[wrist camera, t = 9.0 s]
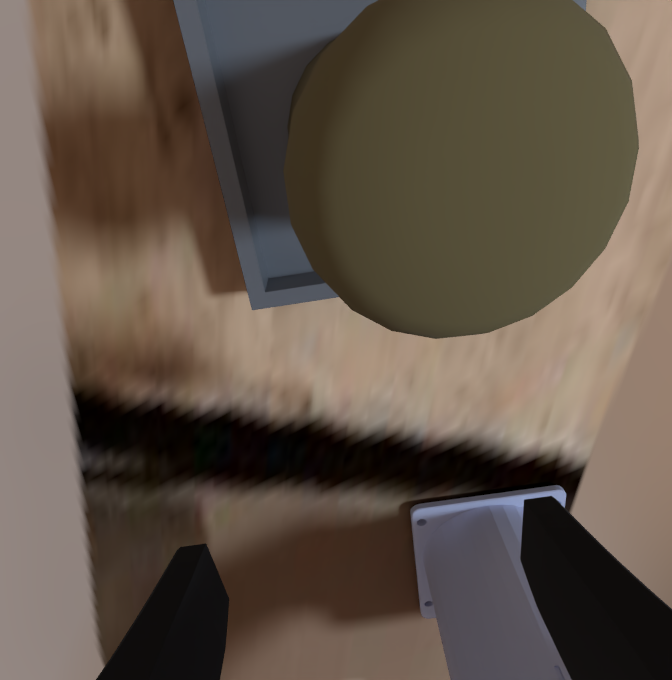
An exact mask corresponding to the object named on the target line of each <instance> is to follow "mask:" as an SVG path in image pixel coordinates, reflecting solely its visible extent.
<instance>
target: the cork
mask: <svg viewBox="0 0 672 680" xmlns="http://www.w3.org/2000/svg"><path fill="white" fill-rule="evenodd" d="M287 128H288V136H289V138H288V144H287V150H286V156H285V163H284V169H283V173H284V180H285V187H286V194H287V200H288V207H289V214H290V221H291V226H292V228H293V230H294V232H295V234H296V236H297V238H298V240H299V242H300V244H301V246H302V248H303V250H304V252H305V254H306V257H307V259H308V261H309V263H310V265H311V267H312V269H313V270H314V271H315V272H316V273H317V274H318V275H319V276H320V277H321V278H322V279H323V281H324V282H325V283H326V284H327V285H328V286H329V287H330V288H331V289H332V290H333V291H334V292H335V293H336V294H337V295H338V296H339V297H340V298H341V299H342V300H343V301H344V302H345V303H346V304H347V305H348V306H349V307H350V308H351V309H352V310H353V311H355V312H357V313H359V314H361V315H363V316H365V317H366V318H368V319H370V320H372V321H374V322H376V323H378V324H380V325H382V326H384V327H385V328H387V329H389V330H391V331H396V332H401V333H407V334H413V335H418V336H424V337H429V338H435V339H438V338H447V337H457V336H466V335H476V334H483V333H488V332H491V331H494V330H496V329H499V328H502V327H504V326H507V325H509V324H512V323H515V322H517V321H520V320H522V319H525V318H527V317H530V316H532V315H534V314H535V313H537V312H538V311H539V310H541V309H542V308H544V307H545V306H546V305H548V304H549V303H551V302H552V301H553V300H555V299H556V298H558V297H559V296H561V295H562V294H563V293H565V292H566V291H568V290H569V289H570V288H572V287H573V285H574V284H575V283H576V282H577V281H578V280H579V278H580V277H581V276H582V275H583V274H584V273H585V271H586V270H587V269H588V268H589V267H590V266H591V264H592V263H593V262H594V261H595V260H596V259H597V257H598V256H599V255H600V254H601V253H602V252H603V251H604V249H605V248H606V246H607V244H608V242H609V240H610V238H611V236H612V234H613V231H614V229H615V227H616V225H617V223H618V221H619V219H620V217H621V215H622V213H623V211H624V209H625V207H626V205H627V203H628V201H629V196H630V191H631V185H632V180H633V175H634V170H635V165H636V159H637V154H638V149H639V141H638V131H637V122H636V113H635V104H634V96H633V87H632V80H631V78H630V76H629V74H628V72H627V70H626V68H625V66H624V64H623V62H622V60H621V58H620V56H619V54H618V52H617V50H616V48H615V46H614V44H613V42H612V40H611V38H610V36H609V34H608V32H607V30H606V28H605V27H603V26H602V25H601V24H600V23H599V22H598V21H596V20H595V19H594V18H593V17H592V16H591V15H589V14H588V13H587V12H586V11H585V10H584V9H582V8H581V7H580V6H579V5H578V4H577V3H576V2H574V1H573V0H378V1H376V2H374V3H372V4H370V5H368V6H367V7H366V8H365V9H364V10H363V11H362V12H361V13H360V14H359V15H358V16H357V17H356V18H355V19H354V20H353V21H352V22H351V23H350V24H349V25H348V26H347V27H346V29H345V30H344V31H343V32H342V33H341V34H340V35H339V36H338V37H337V38H336V39H334V40H332V41H330V42H329V43H328V44H327V45H326V46H325V47H324V48H323V49H322V50H321V51H320V52H319V53H318V54H317V55H316V56H315V57H314V58H313V59H312V60H311V62H310V63H309V64H308V65H307V66H306V68H305V70H304V72H303V74H302V76H301V78H300V80H299V82H298V84H297V86H296V89H295V91H294V93H293V95H292V100H291V107H290V113H289V119H288V126H287Z"/></svg>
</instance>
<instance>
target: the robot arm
mask: <svg viewBox="0 0 672 680" xmlns="http://www.w3.org/2000/svg"><path fill="white" fill-rule="evenodd" d="M565 500H566V493H565V491H564V489H563V488H562V487H561V486H558V485H553V486H545V487H538V488H531V489H524V490H516V491H509V492H502V493H494V494H487V495H480V496H473V497H465V498H458V499H451V500H443V501H436V502H429V503H422V504H417V505H415V506H413V507H412V508H411V510H410V515H411V525H412V534H413V544H414V554H415V564H416V574H417V584H418V593H419V603H420V611H421V615H422V616H423V617H424V618H437V623H438V627H439V631H440V636H441V640H442V644H443V649H444V653H445V657H446V662H447V666H448V670H449V674H450V679H451V680H672V609H671V608H670V607H669V606H668V605H666V604H665V603H664V602H663V601H662V600H661V599H660V598H658V597H657V596H656V595H655V594H654V593H653V592H652V591H651V590H650V589H648V588H647V587H646V586H645V585H644V584H643V583H642V582H641V581H639V579H637V578H636V577H635V576H634V575H633V574H632V573H631V572H630V571H629V570H628V569H626V568H625V567H624V566H623V565H622V564H621V563H620V562H619V561H618V560H617V559H616V558H615V557H614V556H613V555H612V554H611V553H610V552H608V551H607V550H606V549H605V548H604V547H603V546H602V545H601V544H600V543H599V542H598V541H597V540H596V539H595V538H594V537H593V536H592V535H591V534H590V533H589V532H588V531H587V530H586V529H585V528H584V527H583V526H582V525H581V524H580V523H579V522H578V521H577V520H576V519H575V518H574V517H573V516H572V515H571V514H570V513H569V512H568V511H567V510H566V509H565ZM420 519H422V520H420ZM228 607H229V597H228V595H227V593H226V590H225V588H224V585H223V583H222V581H221V578H220V576H219V573H218V571H217V569H216V566H215V564H214V561H213V559H212V557H211V554H210V552H209V549H208V547H207V545H206V544H200V545H193V546H185V547H180V548H179V549H178V550H177V551H176V553H175V555H174V556H173V558H172V560H171V562H170V563H169V565H168V567H167V568H166V570H165V572H164V573H163V575H162V577H161V578H160V580H159V582H158V584H157V585H156V587H155V589H154V590H153V592H152V594H151V595H150V597H149V598H148V600H147V602H146V603H145V605H144V607H143V608H142V610H141V612H140V613H139V615H138V616H137V618H136V620H135V621H134V623H133V624H132V626H131V627H130V629H129V631H128V632H127V634H126V635H125V637H124V638H123V640H122V642H121V643H120V645H119V646H118V648H117V649H116V651H115V652H114V654H113V656H112V657H111V659H110V660H109V662H108V663H107V664H106V666H105V667H104V669H103V670H102V672H101V673H100V675H99V676H98V678H97V679H96V680H220V675H221V670H222V664H223V658H224V653H225V645H226V634H227V622H228Z"/></svg>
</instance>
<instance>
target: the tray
mask: <svg viewBox="0 0 672 680" xmlns="http://www.w3.org/2000/svg"><path fill="white" fill-rule="evenodd" d="M173 1H174V5H175V9H176V13H177V17H178V21H179V25H180V29H181V33H182V37H183V40H184V44H185V48H186V52H187V56H188V60H189V64H190V68H191V72H192V76H193V80H194V84H195V88H196V92H197V95H198V99H199V103H200V107H201V111H202V115H203V119H204V123H205V127H206V131H207V135H208V139H209V143H210V146H211V150H212V154H213V158H214V162H215V166H216V170H217V174H218V178H219V182H220V186H221V190H222V194H223V198H224V201H225V205H226V209H227V213H228V217H229V221H230V225H231V229H232V233H233V237H234V241H235V245H236V249H237V252H238V256H239V260H240V264H241V268H242V272H243V276H244V280H245V284H246V288H247V292H248V296H249V300H250V304H251V307H252V310H257V309H263V308H270V307H277V306H283V305H290V304H296V303H303V302H309V301H316V300H322V299H329V298H336V297H339V296H338V295H337V294H336V293H335V292H334V291H333V290H332V289H331V288H330V287H329V286H328V285H327V284H326V283H325V282H324V281H323V279H322V278H321V277H320V276H319V275H318V274H317V273H316V272H315V271H314V270H313V269H312V267H311V265H310V263H309V261H308V259H307V257H306V254H305V252H304V250H303V248H302V246H301V244H300V242H299V240H298V238H297V236H296V234H295V232H294V230H293V228H292V226H291V221H290V214H289V207H288V200H287V194H286V187H285V180H284V173H283V169H284V163H285V156H286V150H287V144H288V138H289V136H288V128H287V126H288V119H289V113H290V107H291V100H292V95H293V93H294V91H295V89H296V86H297V84H298V82H299V80H300V78H301V76H302V74H303V72H304V70H305V68H306V66H307V65H308V64H309V63H310V62H311V60H312V59H313V58H314V57H315V56H316V55H317V54H318V53H319V52H320V51H321V50H322V49H323V48H324V47H325V46H326V45H327V44H328V43H329V42H330V41H332V40H334V39H336V38H337V37H338V36H339V35H340V34H341V33H342V32H343V31H344V30H345V29H346V27H347V26H348V25H349V24H350V23H351V22H352V21H353V20H354V19H355V18H356V17H357V16H358V15H359V14H360V13H361V12H362V11H363V10H364V9H365V8H366V7H367V6H368V5H370V4H372V3H374V2H376V1H378V0H173ZM573 1H574V2H576V3H577V4H578V5H579V6H580V7H581V8H582V9H584V10H585V11H586V0H573Z"/></svg>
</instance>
